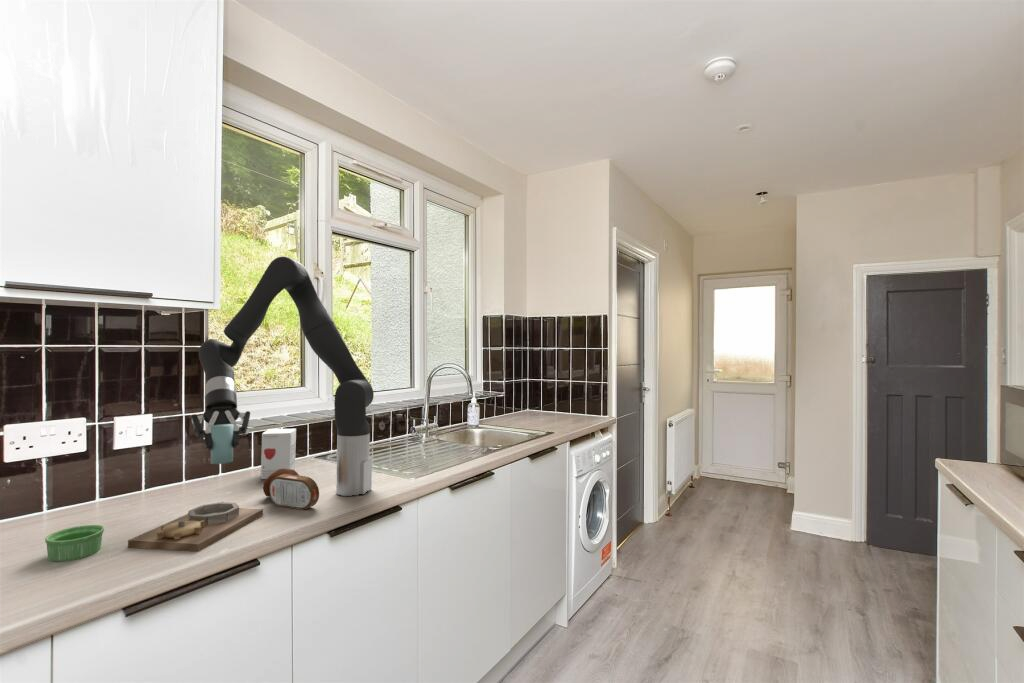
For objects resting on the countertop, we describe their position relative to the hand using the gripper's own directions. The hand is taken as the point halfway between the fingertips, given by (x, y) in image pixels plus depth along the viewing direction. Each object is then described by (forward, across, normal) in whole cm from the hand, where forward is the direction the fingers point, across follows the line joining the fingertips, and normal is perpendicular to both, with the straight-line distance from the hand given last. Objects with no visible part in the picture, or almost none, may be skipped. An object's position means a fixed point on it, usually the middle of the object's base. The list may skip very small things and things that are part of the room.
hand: (222, 446), depth 124 cm
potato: (+7, +16, +18) cm, 25 cm away
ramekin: (+21, -26, +3) cm, 34 cm away
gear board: (+20, -4, +4) cm, 21 cm away
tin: (+15, +16, +9) cm, 24 cm away
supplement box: (-10, +18, +35) cm, 40 cm away
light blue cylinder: (+2, 0, +4) cm, 5 cm away
